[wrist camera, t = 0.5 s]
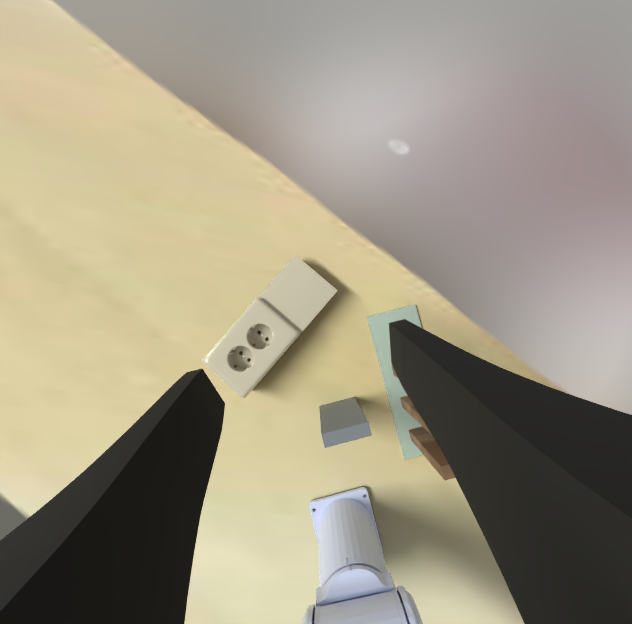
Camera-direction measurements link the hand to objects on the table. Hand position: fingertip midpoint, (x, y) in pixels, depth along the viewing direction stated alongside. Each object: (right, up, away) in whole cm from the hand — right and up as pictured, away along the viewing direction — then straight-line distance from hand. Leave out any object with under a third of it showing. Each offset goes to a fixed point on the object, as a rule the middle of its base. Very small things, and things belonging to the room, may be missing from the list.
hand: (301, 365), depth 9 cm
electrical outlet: (-5, 0, +24) cm, 24 cm away
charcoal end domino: (+4, -11, +23) cm, 26 cm away
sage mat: (+14, -7, +23) cm, 28 cm away
